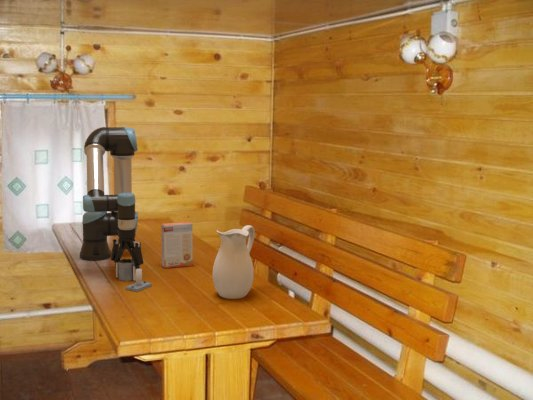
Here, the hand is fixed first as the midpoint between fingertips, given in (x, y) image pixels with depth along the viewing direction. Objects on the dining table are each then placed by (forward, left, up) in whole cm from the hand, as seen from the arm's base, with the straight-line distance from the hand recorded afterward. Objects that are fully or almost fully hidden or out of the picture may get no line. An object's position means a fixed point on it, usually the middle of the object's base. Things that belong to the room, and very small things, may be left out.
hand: (127, 278), depth 283 cm
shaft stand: (+13, -8, 0) cm, 15 cm away
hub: (0, 0, 0) cm, 0 cm away
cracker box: (+6, +29, 0) cm, 30 cm away
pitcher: (+52, +8, 0) cm, 53 cm away
